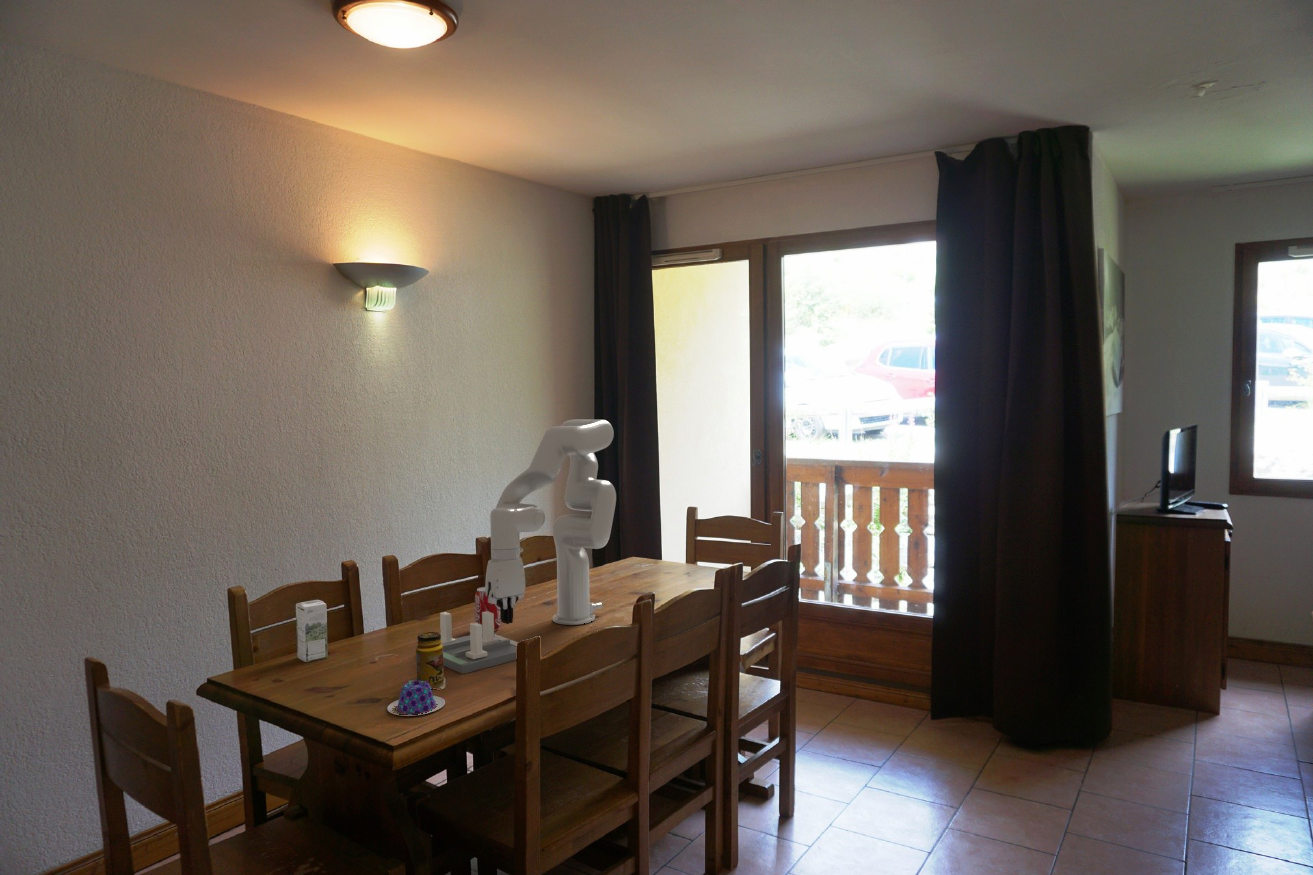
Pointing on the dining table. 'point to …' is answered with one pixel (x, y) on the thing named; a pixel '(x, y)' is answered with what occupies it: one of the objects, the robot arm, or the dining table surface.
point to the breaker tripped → (488, 628)
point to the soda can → (485, 608)
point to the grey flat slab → (495, 655)
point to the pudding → (416, 699)
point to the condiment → (430, 660)
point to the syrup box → (311, 630)
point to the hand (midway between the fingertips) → (506, 622)
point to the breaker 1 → (446, 628)
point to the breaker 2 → (476, 642)
